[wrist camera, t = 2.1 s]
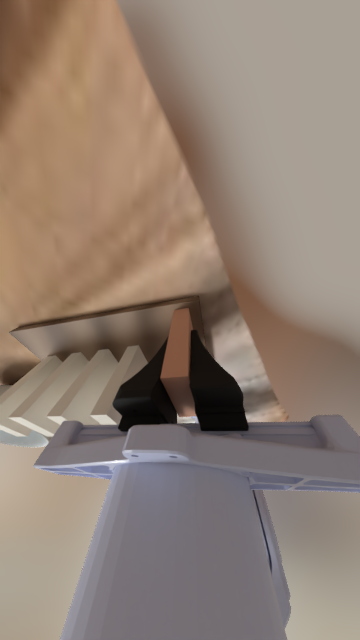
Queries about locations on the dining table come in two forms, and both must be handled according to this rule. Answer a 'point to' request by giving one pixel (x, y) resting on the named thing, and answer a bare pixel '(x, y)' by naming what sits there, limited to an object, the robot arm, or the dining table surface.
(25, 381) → the domino
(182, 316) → the terracotta domino
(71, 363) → the domino
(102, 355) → the domino
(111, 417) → the domino
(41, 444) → the cereal bowl
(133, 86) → the dining table surface
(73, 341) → the board
